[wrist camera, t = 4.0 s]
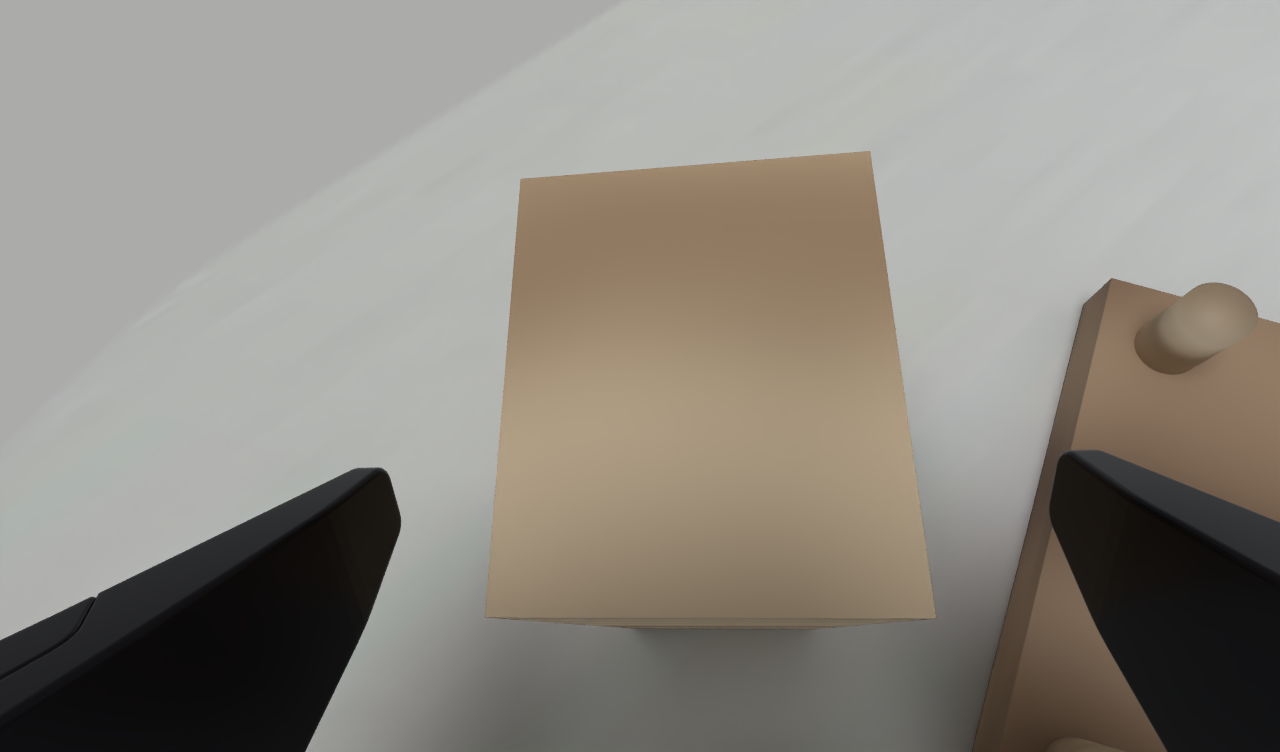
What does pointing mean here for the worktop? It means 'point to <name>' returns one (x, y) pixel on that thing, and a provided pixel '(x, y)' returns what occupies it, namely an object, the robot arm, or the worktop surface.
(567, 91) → the worktop surface
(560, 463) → the tall wooden block
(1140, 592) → the robot arm
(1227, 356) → the peg stand
